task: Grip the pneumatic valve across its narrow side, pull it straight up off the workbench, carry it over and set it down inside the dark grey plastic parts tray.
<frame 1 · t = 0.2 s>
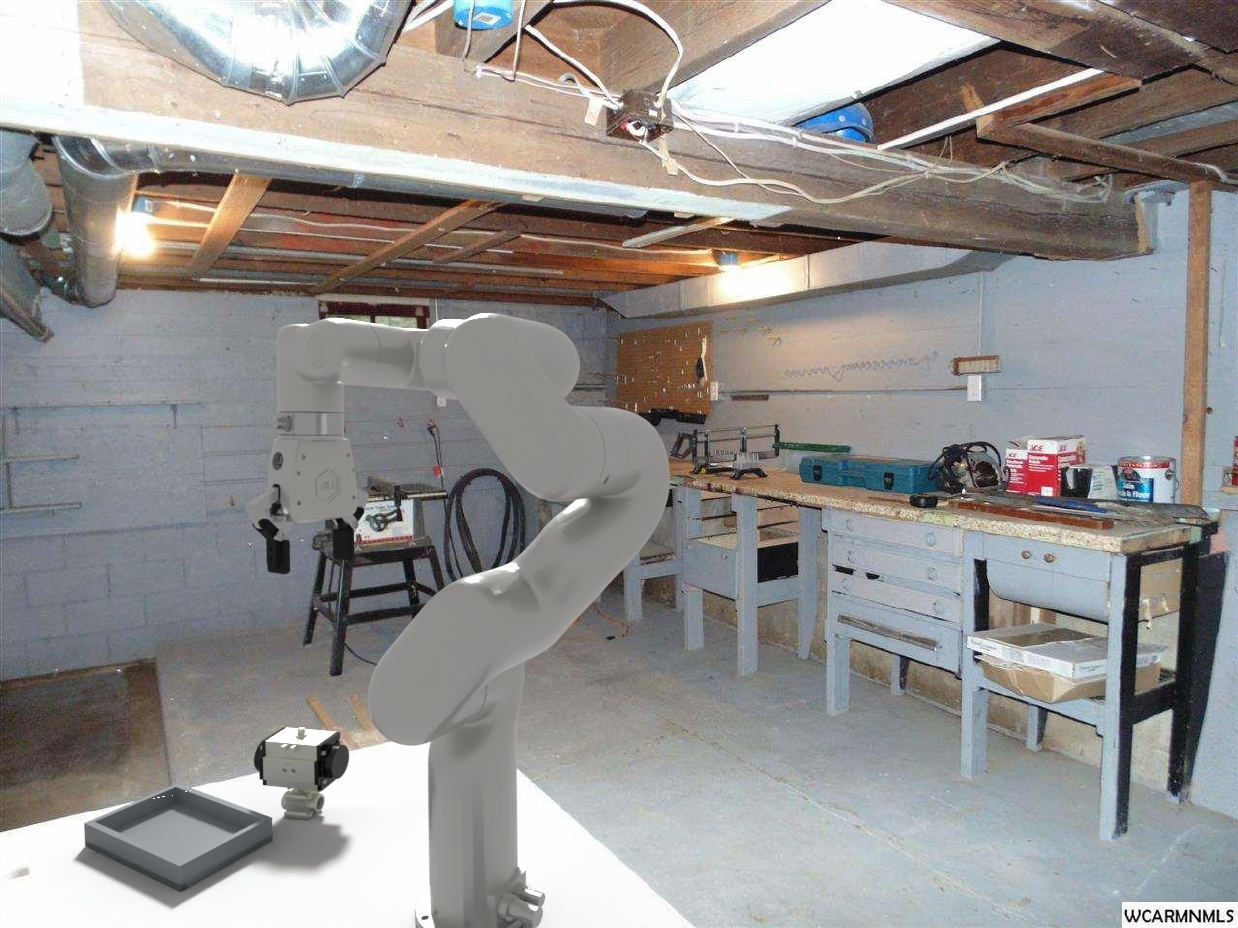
hand: (312, 565, 92), 36 cm above the table, tool pointing down, fingers open, 9 cm apart
pneumatic valve: (301, 816, 102), on the table
parts tray: (179, 843, 95), on the table
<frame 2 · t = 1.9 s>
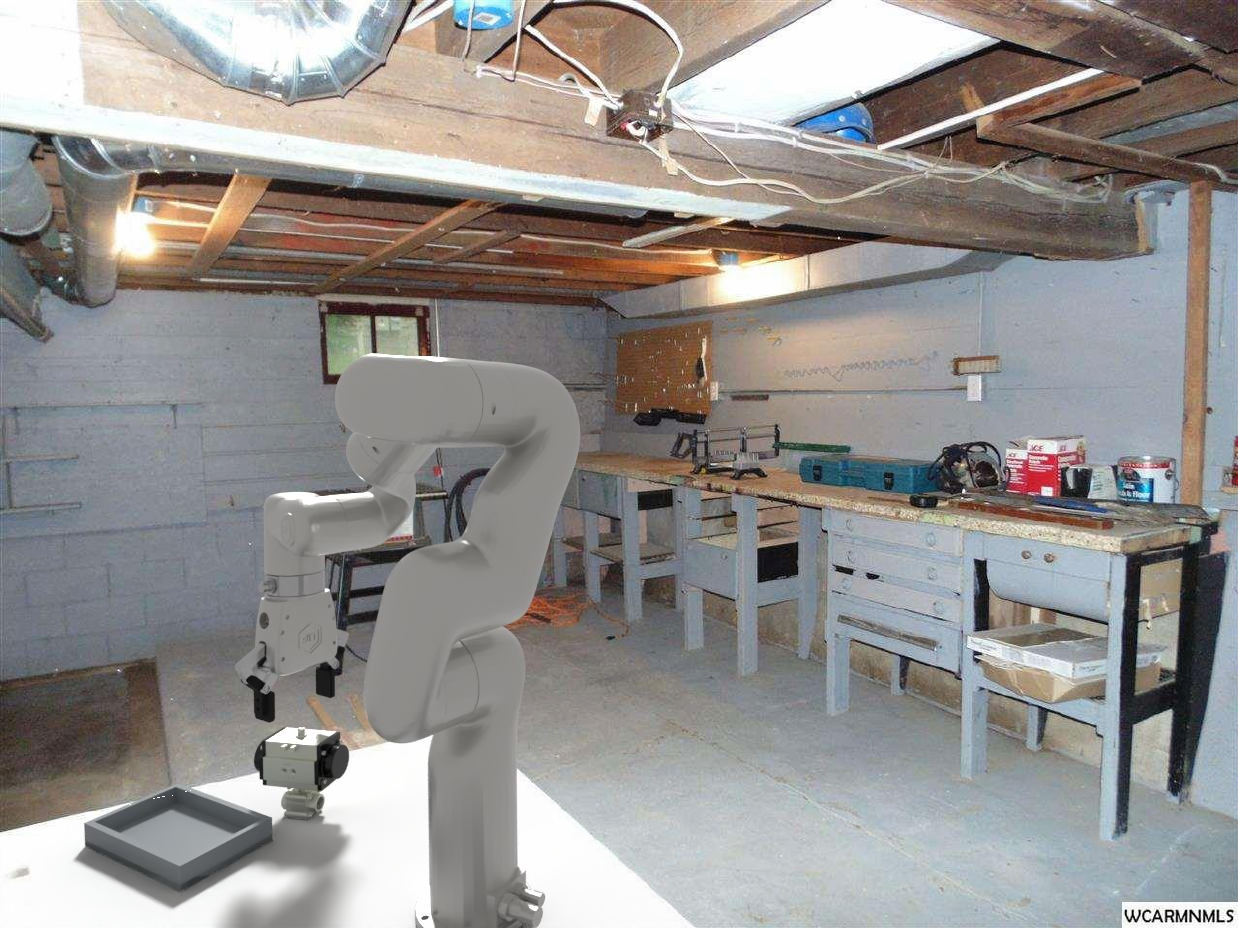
hand: (296, 707, 102), 15 cm above the table, tool pointing down, fingers open, 9 cm apart
nothing on the table moved.
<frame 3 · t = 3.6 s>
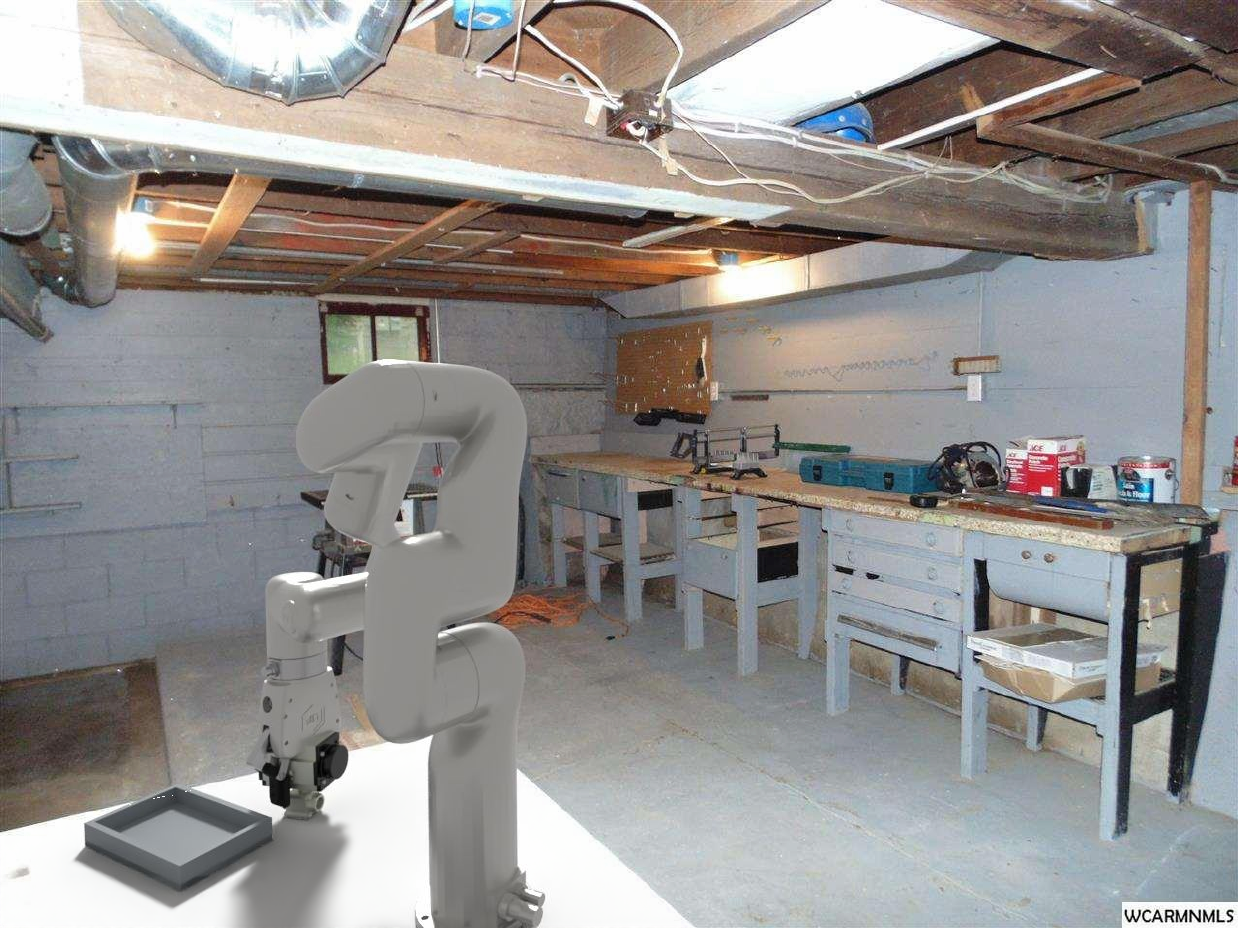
hand: (300, 792, 102), 3 cm above the table, tool pointing down, fingers closed on pneumatic valve, 5 cm apart
pneumatic valve: (301, 816, 102), on the table, touching gripper
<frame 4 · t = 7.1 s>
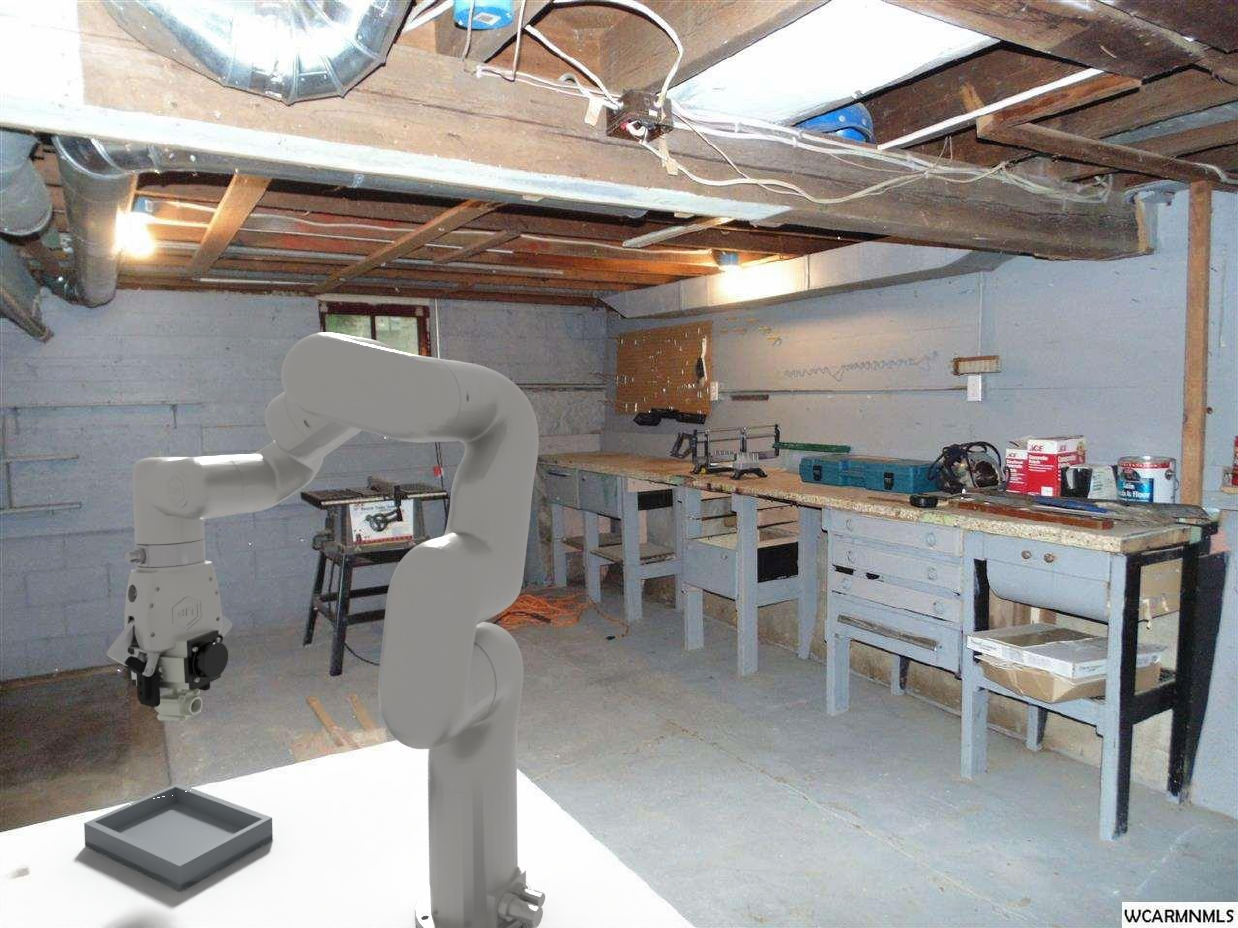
hand: (175, 695, 94), 19 cm above the table, tool pointing down, fingers closed on pneumatic valve, 5 cm apart
pneumatic valve: (176, 720, 94), point 16 cm above the table, touching gripper
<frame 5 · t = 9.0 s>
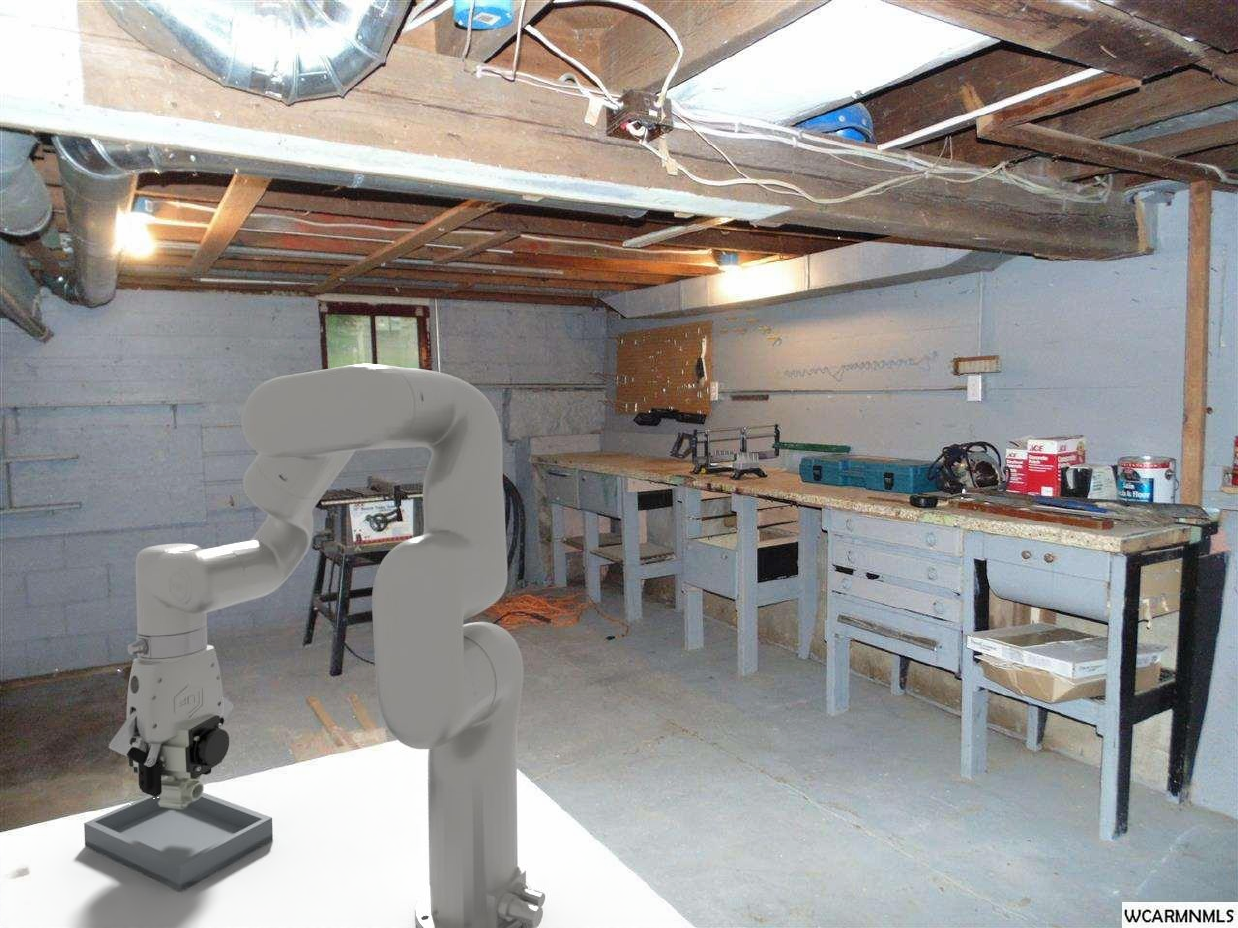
hand: (177, 780, 95), 8 cm above the table, tool pointing down, fingers closed on pneumatic valve, 5 cm apart
pneumatic valve: (177, 805, 95), point 5 cm above the table, touching gripper
when the fingers open (5 cm above the table, at t = 10.5 s): pneumatic valve drops 1 cm, resting on parts tray.
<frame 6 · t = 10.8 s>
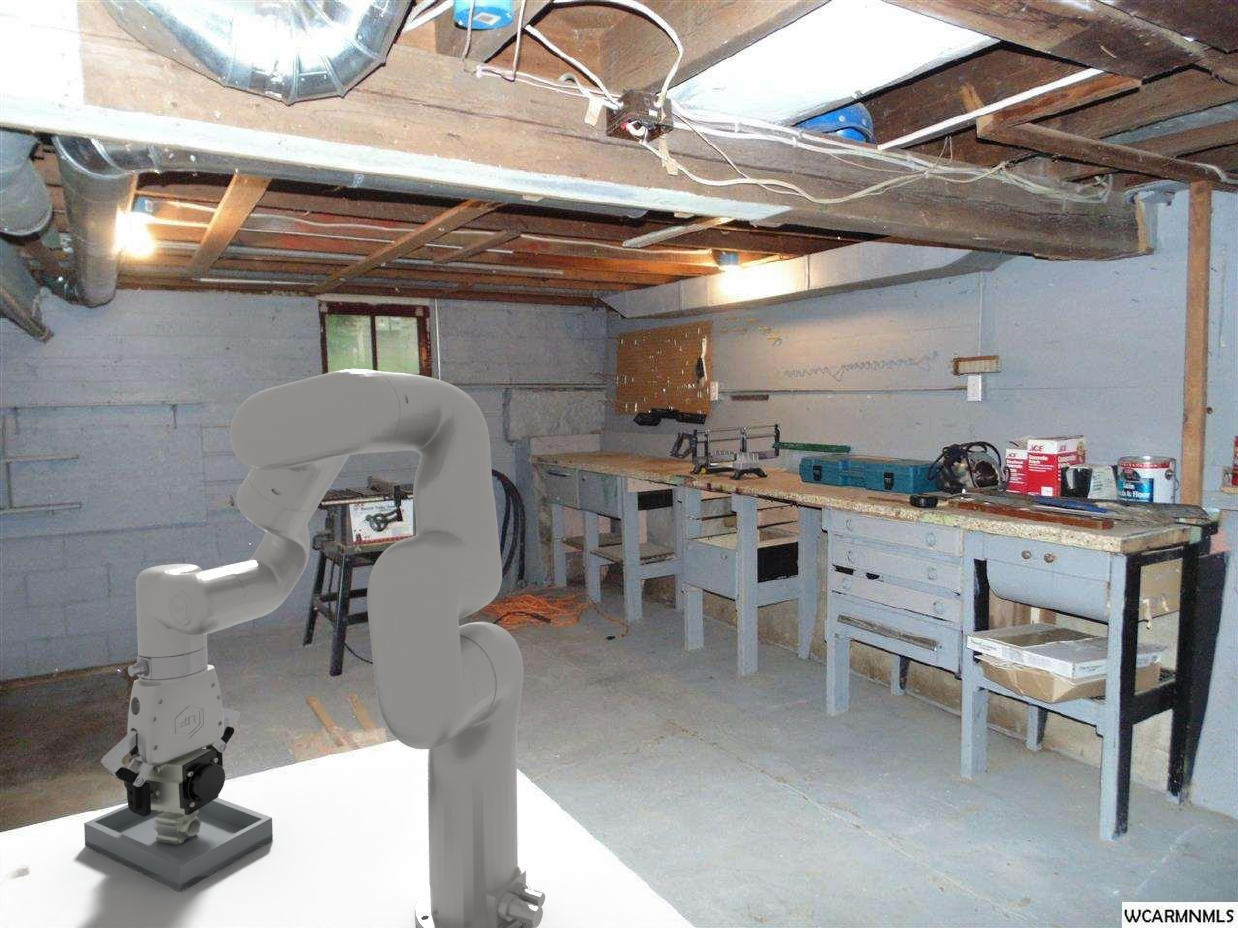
hand: (178, 796, 95), 6 cm above the table, tool pointing down, fingers open, 8 cm apart
pneumatic valve: (175, 840, 94), point 1 cm above the table, touching parts tray
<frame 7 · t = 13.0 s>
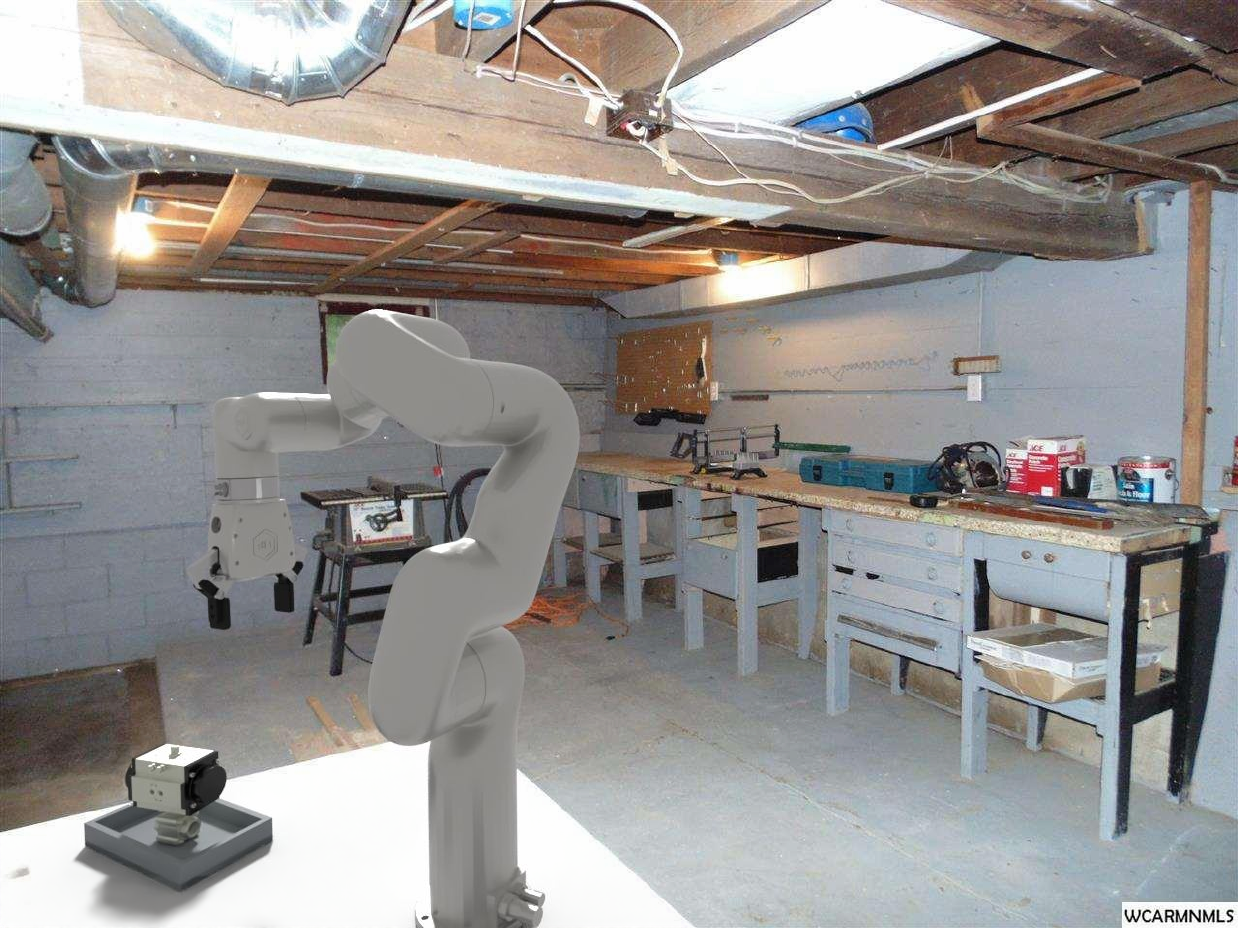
hand: (253, 619, 99), 28 cm above the table, tool pointing down, fingers open, 9 cm apart
nothing on the table moved.
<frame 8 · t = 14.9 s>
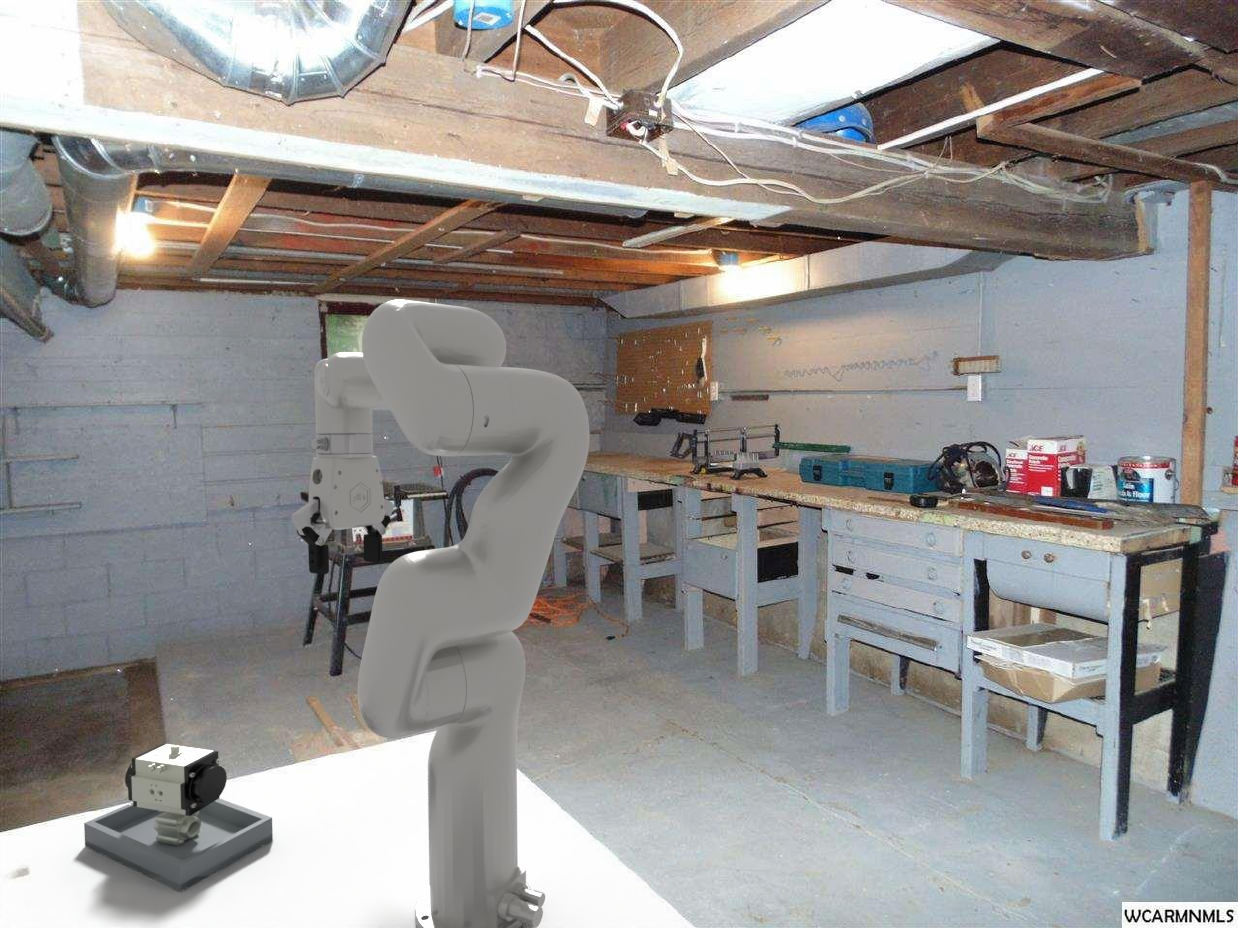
hand: (347, 567, 106), 33 cm above the table, tool pointing down, fingers open, 9 cm apart
nothing on the table moved.
at the end: pneumatic valve inside the target area on the parts tray (0.6 cm from its centre), point 0.6 cm above the parts tray's base; pneumatic valve tilted 0°; the gripper is holding nothing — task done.
